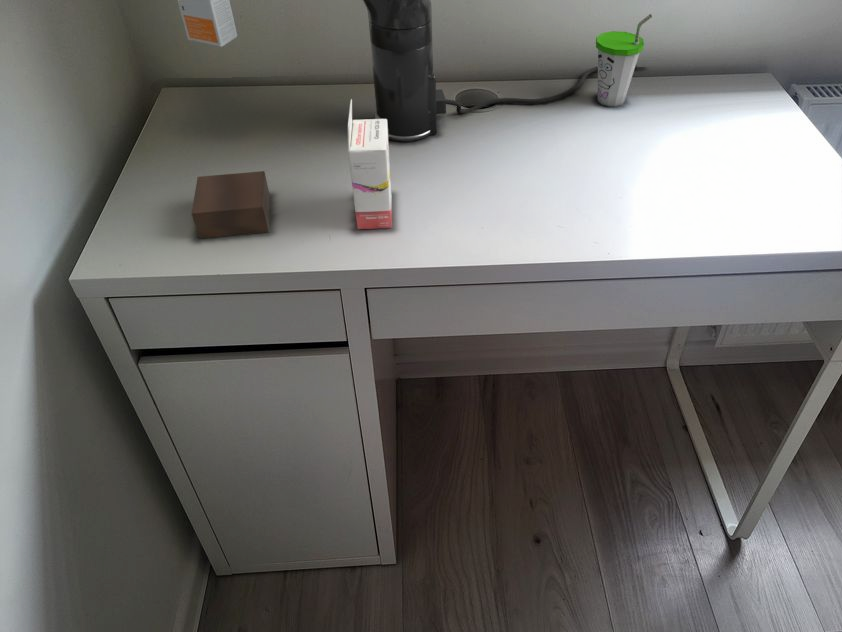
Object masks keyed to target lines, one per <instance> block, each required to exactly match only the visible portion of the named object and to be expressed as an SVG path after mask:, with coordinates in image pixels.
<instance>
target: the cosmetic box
mask: <svg viewBox="0 0 842 632" xmlns="http://www.w3.org/2000/svg"><path fill="white" fill-rule="evenodd" d="M176 1H177V4H178V5H177V6H178V9H179V13H180V16H181V19H182V23H183V27H184V30H185V34H186V39H187V41H190V42H197V43H202V44H206V45H211V46H216V47H220V48H222V47H224V46H226V45H227V44H228V43H230V42H232V41H233V40H235V39H237V38H238V31H237V27H236V23H235V17H234V14H233V10H232V6H231V1H230V0H176Z"/></svg>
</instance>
